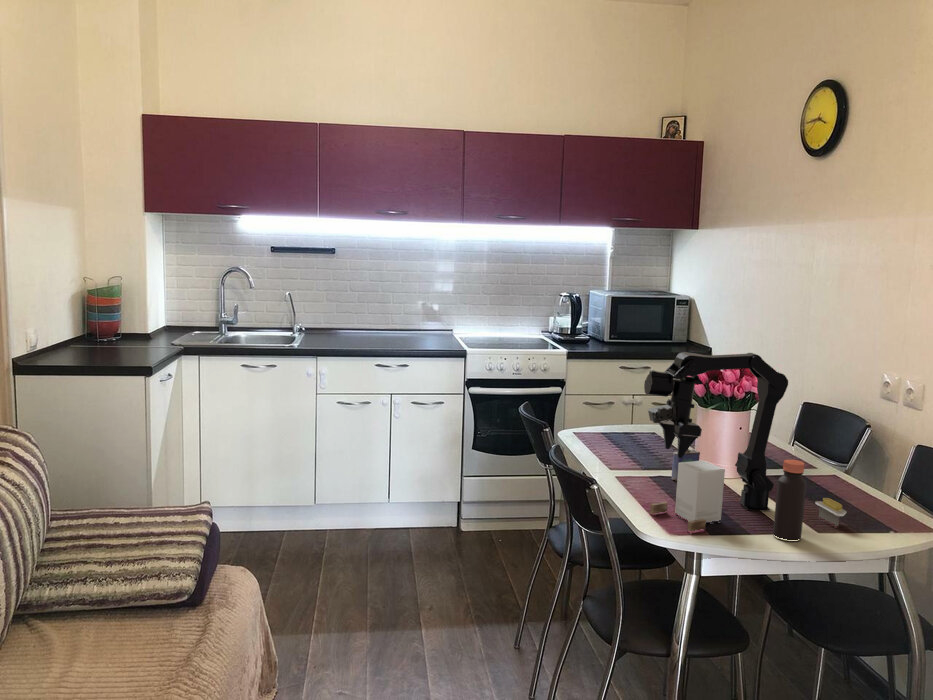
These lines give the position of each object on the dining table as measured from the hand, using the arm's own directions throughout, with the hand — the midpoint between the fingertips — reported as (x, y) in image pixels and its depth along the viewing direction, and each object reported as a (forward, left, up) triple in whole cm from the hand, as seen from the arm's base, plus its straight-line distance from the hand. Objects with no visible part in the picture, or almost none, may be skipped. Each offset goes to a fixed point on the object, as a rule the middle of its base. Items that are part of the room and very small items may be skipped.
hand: (673, 453), depth 221 cm
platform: (-41, +11, -17) cm, 46 cm away
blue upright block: (-13, -26, -16) cm, 33 cm away
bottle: (-24, +21, -16) cm, 36 cm away
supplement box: (-5, +8, -16) cm, 19 cm away
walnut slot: (+2, +11, -16) cm, 20 cm away
